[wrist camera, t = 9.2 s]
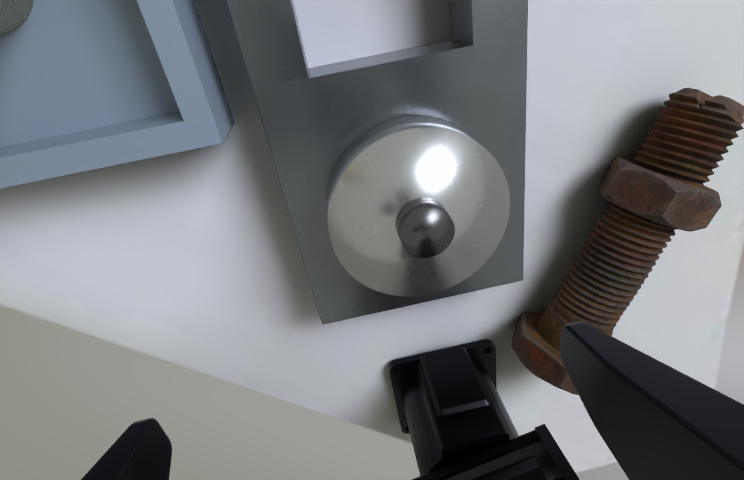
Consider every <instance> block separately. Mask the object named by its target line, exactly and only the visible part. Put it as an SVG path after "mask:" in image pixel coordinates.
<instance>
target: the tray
mask: <svg viewBox="0 0 744 480" xmlns="http://www.w3.org/2000/svg"><path fill="white" fill-rule="evenodd" d="M233 124H234V120H233V117H232V114H231V111H230V108H229V105H228V101H227V98H226V95H225V92H224V89H223V86H222V83H221V80H220V77H219V74H218V71H217V68H216V65H215V62H214V59H213V56H212V53H211V50H210V47H209V44H208V41H207V38H206V35H205V32H204V29H203V26H202V23H201V20H200V17H199V14H198V10H197V7H196V4H195V1H194V0H34V3H33V7H32V10H31V12H30V15H29V16H28V18H27V19H26V21H25V22H24V23H23V24H22V25H21V26H20V27H19V28H17V29H16V30H15V31H13V32H10V33H8V34H5V35H1V36H0V188H5V187H10V186H15V185H20V184H25V183H30V182H35V181H40V180H45V179H50V178H54V177H59V176H64V175H69V174H74V173H79V172H84V171H89V170H94V169H99V168H104V167H108V166H113V165H118V164H123V163H128V162H133V161H138V160H143V159H148V158H153V157H158V156H163V155H167V154H172V153H177V152H182V151H187V150H192V149H197V148H202V147H207V146H212V145H217V144H222V143H223V142H224V140H225V138H226V136H227V135H228V133H229V131H230V130H231V128H232V126H233Z"/></svg>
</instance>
